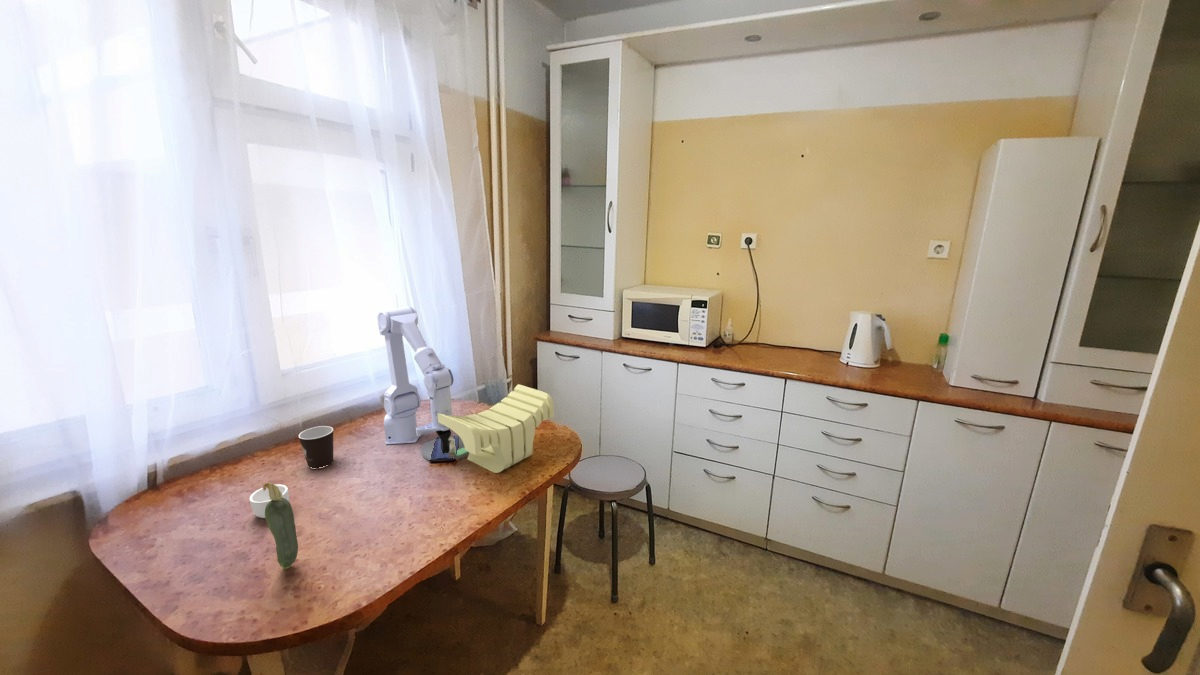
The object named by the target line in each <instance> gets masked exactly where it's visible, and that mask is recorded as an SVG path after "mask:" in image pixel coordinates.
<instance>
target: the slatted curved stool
mask: <svg viewBox="0 0 1200 675" xmlns="http://www.w3.org/2000/svg"><path fill="white" fill-rule="evenodd" d="M554 403H555V402H554V400H553V398H552V396H551V395H550V394H549V393H547V392H544V391H542V390H538V389H536V388H532V387H528V386H525V385H522V384H519V383H518V384H517V385H516V386H515V387H514V388H513V390H512V391H510V392H509V393H508V394H507V397H506V396H505V397H504V398H503V399H501V400H500V402H497V403H496V404H494V405H493V406H491V407H489V409H486V410H482V411H481V412H477V414H475V413H473V414H467V415H464V416H462V415H455V416H454V415H453V414H452V415H447V416H446V415H444V414H440V413H438V422H439V423H441V424H443V425H445V426H446V427H448V428H450V431H451V430H452V431H453V432H454V433H456V435H459V437H460V438H461V439H462V441H463V444H464V447H465V450H466V451H468V452H469V455H468V456H467V458H466V460H467V461H470V462H472V463H473V464H475V465H478V466H480V467H482V468H484V469H486V470H488V471H490V472H491V473H494V474H498V473H501V472H503V471H504V470H506V469H508V468H510V467H512V466H513V465H515V464H517V463H519V462H521V461H523V460H525V459H526V458H528V457H530V456H532V455H533V449H534V448H533V446H534V439H535V434H536V428H538V427H539V426H540V425H541V424H542V421H543V422H545V421H547V420H548V419H553V418H555V404H554Z"/></svg>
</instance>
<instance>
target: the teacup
mask: <svg viewBox="0 0 1200 675" xmlns="http://www.w3.org/2000/svg"><path fill="white" fill-rule="evenodd" d="M275 485H276V486H277V487H278V488H279V490H280V492H281V494H282V497H283V498H285V499H287V500H288V501H289V502H290V492H289V488H288V487H287V486H286V485H284V484H280V483H279V484H275ZM271 500H272V499H270V496H269V490H268V488H267V487H266V490H265V491H264V489H263V487H261V488H259V489H257V490H255V491H254V492H252V493H251V494H250V496H249V501H248V502H249V503H250V508H251V509H252V513H253V514H254V516H256V517H258V518H261V519H266V517H265V508H266V505H267V504H268V502H269V501H271Z"/></svg>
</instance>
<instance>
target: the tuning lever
mask: <svg viewBox="0 0 1200 675" xmlns="http://www.w3.org/2000/svg"><path fill="white" fill-rule="evenodd" d="M447 444H448V450H449V453H448V456H449V457H455V456H456V446H455V439H454V438H453V437H449V439H448V442H447Z"/></svg>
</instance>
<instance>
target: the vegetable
mask: <svg viewBox="0 0 1200 675" xmlns="http://www.w3.org/2000/svg"><path fill="white" fill-rule="evenodd" d="M276 485H277V484H275V483H271V482H265V483H264V484H263V485H262V488H263V489H264V491H265V490H266V487H267V488H268V490H269V496H270V499H272V500H271V501H269V502H268V504H267V505H266V508H265V517H266V518H265V520H266V523H267V525H268V528H269V531H270V533H271V535H273V537H274V541H275V549H276V555H277V556H276V558H277V563H278V564H279V566H280V567H282V570H288V569H289V568H291V566H293V564H294V563H295V562H296V560H297V557H298V552H299V542H298V539H297V538H298V536H297V528H296V524H295V516H294V512H293V507H292V505H291V502H290V500H289V501H288V500H287V499H285V498H283V497H282V494H281V492H280V490H279V488H278V487H277V486H276Z"/></svg>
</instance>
